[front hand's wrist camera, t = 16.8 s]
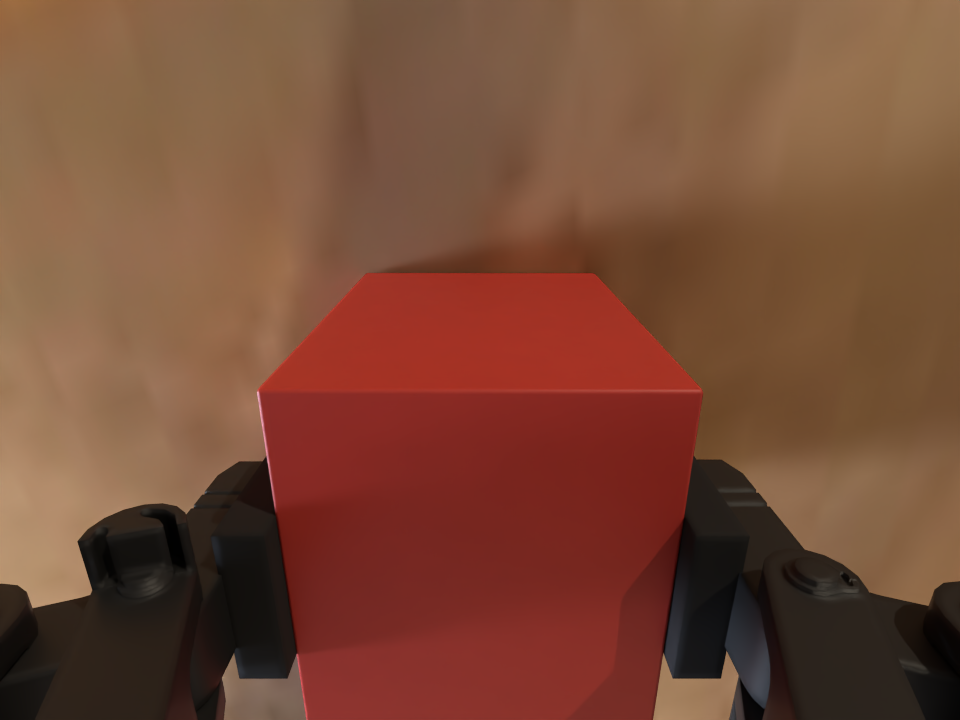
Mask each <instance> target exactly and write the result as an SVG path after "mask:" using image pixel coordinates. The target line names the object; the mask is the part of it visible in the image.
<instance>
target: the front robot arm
mask: <svg viewBox="0 0 960 720" xmlns="http://www.w3.org/2000/svg"><path fill="white" fill-rule="evenodd" d="M78 545H79V548H80V551H81V554H82V558H83V561H84V564H85V567H86V571H87V574H88V577H89V580H90V584H91V587H92V593H91V595H89V596H86V597H82V598H78V599H73V600H69V601H64V602H60V603H55V604H51V605H46V606H41V607H37V608H32V606H31V603H30V600H29V597H28V595H27V592H26V591H24V590H23V589H22V588H20V587H19V586H18V585H9V584H0V720H224V711H225V702H226V700H225V692H224V686H223V682H222V676H223V674H224V672H225V670H226V668H227V666H228V664H229V662H230V660H231V658H232V656H233V654H235V659H236V664H237V668H238V673H239V678H240V679H242V678H243V679H245V678H246V679H248V678H249V679H251V678H252V679H254V678H256V679H258V678H259V679H260V678H262V679H264V678H269V679H270V678H288V676H289V673H290V670H291V667H292V665H293V662H294V659H295V656H296V654H297V652H296V646H295V639H294V633H293V626H292V619H291V613H290V606H289V600H288V593H287V586H286V580H285V573H284V567H283V560H282V553H281V547H280V540H279V534H278V527H277V520H276V514H275V507H274V501H273V494H272V487H271V481H270V474H269V468H268V461H267V456H266V457H265V459H264V460H263V462H238V463H236V464H235V465H233V466H232V467H230V468H229V469H227V470H225V471H224V472H222V473H221V474H219V475H218V476H217V477H216V478H215V480H214V481H213V482H212V483H211V485H210V486H209V487H208V488H207V490H206V491H205V495H202V496H201V497H200V498H199V500H198V501H197V502H196V503H195V504H194V509H190V511H189V512H188V513H187V514H185V512H183V511H182V510H181V509H180V508H178V507H177V506H173V505H168V504H163V503H162V504H147V505H141V506H137V507H133V508H129V509H125V510H122V511H120V512H118V513H115V514H113V515H111V516H108V517H106V518H104V519H102V520H101V521H99V522H98V523H97V524H95V525H94V526H92V527H91V528H89V529H88V530H87V531H86V532H85V533H84V534H83V536H82V537H81V538H80V539H79V540H78ZM726 651H727V652H728V654H729V656H730V658H731V660H732V662H733V664H734V666H735V668H736V670H737V672H738V674H739V677H738V682H737V686H736V691H735V695H734V700H733V704H732V709H731V714H730V718H729V720H960V581H958V582H949V583H943V584H942V585H940V586H939V587H938V588H936V589H935V590H934V593H933V596H932V599H931V601H930V604H929V606H926V605H921V604H916V603H912V602H907V601H903V600H898V599H894V598H889V597H884V596H880V595H877V594H873V593H869V591H868V589H867V588H866V587H865V585H864V584H863V583H862V581H861V580H860V578H859V577H858V576H857V575H856V574H854V573H853V572H852V571H850V570H849V569H848V568H847V567H845V566H844V565H843V564H841V563H839V562H837V561H835V560H833V559H831V558H829V557H827V556H824V555H821V554H818V553H814V552H811V551H807V550H804V548H803V547H802V546H801V545H800V543H799V542H798V541H797V540H796V538H795V537H794V536H793V535H792V534H791V532H790V531H789V530H788V529H787V527H786V526H785V525H784V524H783V522H782V521H781V520H780V519H779V518H778V516H777V515H776V514H775V513H774V511H773V510H772V509H771V508H770V507H767V503H766V501H765V500H764V499H763V498H762V497H761V495H760V494H759V493H756V489H755V488H754V487H753V485H752V484H751V483H750V482H749V481H748V479H747V478H746V477H745V476H744V474H743V473H741V472H740V471H738V470H737V469H735V468H733V467H732V466H730V465H729V464H727V463H726V462H724V461H723V460H696V458H695V457H694V455H693V462H692V468H691V475H690V482H689V488H688V495H687V501H686V508H685V514H684V521H683V527H682V534H681V540H680V547H679V553H678V560H677V566H676V573H675V579H674V586H673V592H672V599H671V605H670V612H669V618H668V625H667V631H666V638H665V644H664V651H663V653H664V655H665V658H666V661H667V664H668V666H669V669H670V672H671V675H672V677H673V678H721V675H722V670H723V665H724V660H725V656H726Z"/></svg>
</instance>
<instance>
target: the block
mask: <svg viewBox="0 0 960 720" xmlns="http://www.w3.org/2000/svg"><path fill="white" fill-rule="evenodd" d="M257 395H258V402H259V408H260V415H261V421H262V428H263V435H264V441H265V448H266V454H267V461H268V468H269V474H270V481H271V487H272V494H273V501H274V507H275V514H276V520H277V527H278V534H279V540H280V547H281V553H282V560H283V567H284V573H285V580H286V586H287V593H288V600H289V606H290V613H291V619H292V626H293V633H294V639H295V646H296V652H297V659H298V666H299V672H300V679H301V685H302V692H303V699H304V705H305V712H306V718H307V720H653V716H654V709H655V703H656V696H657V690H658V683H659V677H660V670H661V664H662V657H663V651H664V644H665V638H666V631H667V625H668V618H669V612H670V605H671V599H672V592H673V586H674V579H675V573H676V566H677V560H678V553H679V547H680V540H681V534H682V527H683V521H684V514H685V508H686V501H687V495H688V488H689V482H690V475H691V468H692V462H693V455H694V449H695V442H696V436H697V429H698V423H699V416H700V410H701V403H702V397H703V391H702V389H701V388H700V387H699V386H698V385H697V383H696V382H695V381H694V380H693V379H692V378H691V377H690V376H689V375H688V374H687V373H686V372H685V371H684V369H683V368H682V367H681V366H680V365H679V364H678V363H677V362H676V361H675V360H674V359H673V358H672V357H671V355H670V354H669V353H668V352H667V351H666V350H665V349H664V348H663V347H662V346H661V345H660V344H659V343H658V341H657V340H656V339H655V338H654V337H653V336H652V335H651V334H650V333H649V332H648V331H647V330H646V329H645V327H644V326H643V325H642V324H641V323H640V322H639V321H638V320H637V319H636V318H635V317H634V316H633V315H632V313H631V312H630V311H629V310H628V309H627V308H626V307H625V306H624V305H623V304H622V303H621V302H620V301H619V299H618V298H617V297H616V296H615V295H614V294H613V293H612V292H611V291H610V290H609V289H608V288H607V287H606V285H605V284H604V283H603V282H602V281H601V280H600V279H599V278H598V277H597V276H596V275H595V274H594V273H367V274H365V275H364V276H363V277H362V278H361V280H360V281H359V282H358V283H357V284H356V285H355V286H354V287H353V288H352V289H351V290H350V291H349V292H348V293H347V294H346V296H345V297H344V298H343V299H342V300H341V301H340V302H339V303H338V304H337V305H336V306H335V307H334V308H333V309H332V311H331V312H330V313H329V314H328V315H327V316H326V317H325V318H324V319H323V320H322V321H321V322H320V323H319V324H318V325H317V327H316V328H315V329H314V330H313V331H312V332H311V333H310V334H309V335H308V336H307V337H306V338H305V339H304V340H303V342H302V343H301V344H300V345H299V346H298V347H297V348H296V349H295V350H294V351H293V352H292V353H291V354H290V355H289V356H288V358H287V359H286V360H285V361H284V362H283V363H282V364H281V365H280V366H279V367H278V368H277V369H276V370H275V371H274V373H273V374H272V375H271V376H270V377H269V378H268V379H267V380H266V381H265V382H264V383H263V384H262V385H261V386H260V387H259V389H258V391H257Z"/></svg>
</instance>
